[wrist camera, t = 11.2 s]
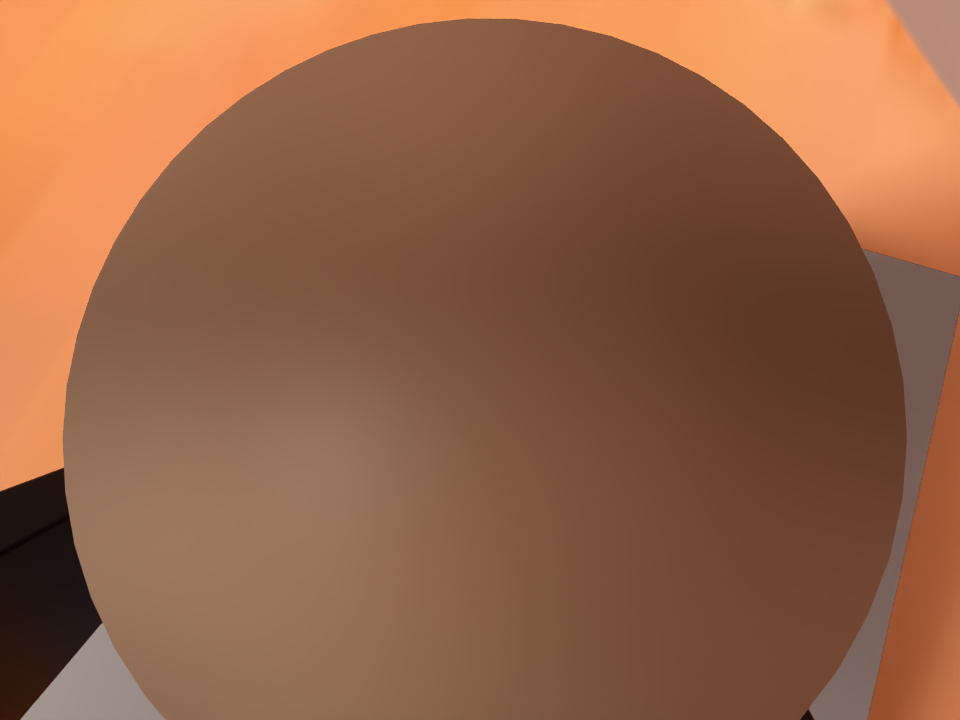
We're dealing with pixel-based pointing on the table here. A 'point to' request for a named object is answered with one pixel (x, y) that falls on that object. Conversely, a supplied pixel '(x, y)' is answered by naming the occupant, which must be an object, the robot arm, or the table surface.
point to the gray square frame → (848, 695)
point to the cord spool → (485, 398)
